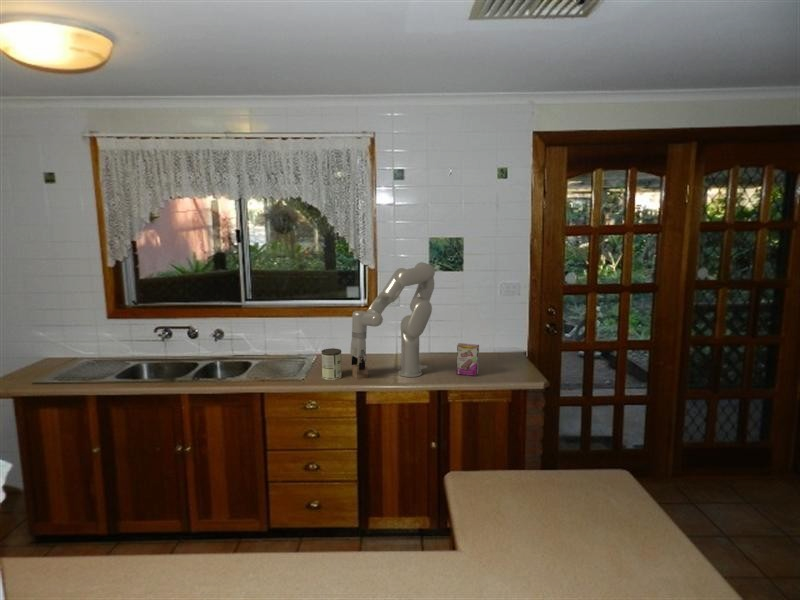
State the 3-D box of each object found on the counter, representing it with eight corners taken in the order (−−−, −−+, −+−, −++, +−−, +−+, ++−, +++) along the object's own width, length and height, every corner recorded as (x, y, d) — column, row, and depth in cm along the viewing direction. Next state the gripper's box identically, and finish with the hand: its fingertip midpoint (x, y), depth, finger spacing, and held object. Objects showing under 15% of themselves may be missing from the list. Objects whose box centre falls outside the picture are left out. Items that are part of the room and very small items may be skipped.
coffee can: (324, 373, 272) (324, 348, 269) (343, 374, 271) (343, 348, 268) (319, 379, 262) (319, 353, 259) (339, 380, 261) (339, 353, 258)
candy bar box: (456, 374, 271) (456, 344, 268) (457, 372, 275) (458, 342, 273) (477, 376, 268) (478, 346, 265) (478, 374, 272) (479, 344, 270)
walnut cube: (363, 375, 270) (362, 364, 269) (367, 378, 265) (367, 367, 264) (352, 376, 267) (352, 365, 266) (357, 379, 262) (356, 368, 261)
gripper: (346, 332, 268) (345, 363, 271) (359, 339, 253) (358, 372, 256) (359, 331, 272) (358, 362, 274) (372, 338, 257) (371, 371, 259)
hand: (358, 367), depth 265 cm, fingers open, 9 cm apart
